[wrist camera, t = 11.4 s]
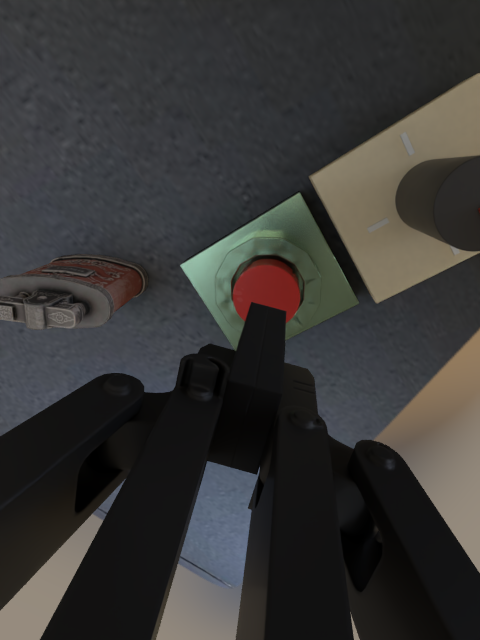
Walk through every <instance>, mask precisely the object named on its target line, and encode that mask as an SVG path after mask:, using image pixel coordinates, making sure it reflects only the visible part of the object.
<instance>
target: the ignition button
mask: <svg viewBox="0 0 480 640" xmlns="http://www.w3.org/2000/svg"><path fill="white" fill-rule="evenodd" d="M251 302H254V303H258V304H262V305H265V306H269V307H273V308H277V309H280V310H284V311H287V312H286V323H287V322H288V321H290V320H291V319H292V318H293V316H294V315H295V313H296V312H297V310H298V307H299V303H300V288H299V282H298V279H297V276H296V274H295V273H294V271H293V270H292V269H291V268H290V267H289V266H288V265H286V264H285V263H283V262H281V261H279V260H275V259H260V260H257V261H254V262H252V263H250V264H249V265H248V266H246V267H245V268H244V269H243V271H242V272H241V274H240V275H239V277H238V279H237V281H236V284H235V286H234V289H233V303H234V307H235V309H236V311H237V313H238V314H239V316H240V317H241V318H242V319H243V320H244V321H245V320H246V317H247V314H248V311H249V307H250V304H251Z"/></svg>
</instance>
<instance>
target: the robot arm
mask: <svg viewBox="0 0 480 640" xmlns="http://www.w3.org/2000/svg"><path fill="white" fill-rule="evenodd" d="M286 312H287V311H284V310H280V309H277V308H273V307H269V306H265V305H262V304H258V303H254V302H251V304H250V307H249V311H248V314H247V317H246V320H245V323H244V327H243V330H242V333H241V336H240V339H239V343H238V346H237V349H236V351H235V350H231V349H228V348H224V347H220V346H216V345H213V344H208V345H206V346H204V347H202V348H200V350H199V352H198V354H189V355H186V356H184V357H183V358H182V359H181V361H180V366H179V371H178V376H177V381H176V386H175V388H174V390H173V391H170V392H165V393H148V392H144V385H143V384H142V383H141V381H140V380H138V379H136V378H135V377H133V376H130V375H127V374H122V373H121V374H120V373H111V374H104V375H102V376H99V377H97V378H95V379H93V380H92V381H90V382H88V383H87V384H85V385H84V386H82V387H80V388H79V389H77V390H75V391H74V392H72V393H71V394H69V395H67V396H66V397H64V398H62V399H61V400H59V401H57V402H56V403H54V404H53V405H51V406H49V407H48V408H46V409H44V410H43V411H41V412H39V413H38V414H36V415H35V416H33V417H31V418H30V419H28V420H26V421H25V422H23V423H22V424H20V425H18V426H17V427H15V428H13V429H12V430H10V431H8V432H7V433H5V434H4V435H2V436H0V610H1V609H2V608H3V607H4V606H5V605H6V604H7V603H8V602H9V601H10V600H11V599H12V598H13V597H14V595H15V594H16V593H17V592H18V591H19V590H20V589H21V588H22V587H23V586H24V585H25V584H26V583H27V582H28V581H29V580H30V579H31V578H32V576H34V575H35V573H36V572H37V571H38V570H39V569H40V568H41V567H42V566H43V565H44V564H45V563H46V562H47V561H48V560H49V559H50V558H51V557H52V556H53V554H54V553H55V552H56V551H57V550H58V549H59V548H60V547H61V546H62V545H63V544H64V543H65V542H66V541H67V540H68V539H69V538H70V536H72V534H73V533H74V532H75V531H76V530H77V529H78V528H79V527H80V526H81V525H82V524H83V523H84V522H85V521H86V520H87V519H88V518H89V516H91V514H92V513H93V512H94V511H95V510H96V509H97V508H98V507H99V506H100V505H101V504H102V503H103V502H104V501H105V500H106V499H107V498H108V497H109V495H110V494H111V493H112V492H113V491H114V490H115V489H116V488H117V487H118V486H119V485H120V484H121V483H122V482H123V481H124V480H125V479H126V480H125V482H124V483H123V485H122V487H121V489H120V491H119V493H118V495H117V496H116V498H115V500H114V502H113V504H112V506H111V508H110V510H109V511H108V513H107V515H106V517H105V519H104V521H103V523H102V525H101V526H100V528H99V530H98V532H97V534H96V536H95V538H94V540H93V541H92V543H91V545H90V547H89V549H88V551H87V553H86V555H85V557H84V558H83V560H82V562H81V564H80V566H79V568H78V569H77V571H76V574H75V575H74V577H73V579H72V581H71V583H70V585H69V586H68V588H67V590H66V592H65V594H64V596H63V598H62V600H61V602H60V603H59V605H58V607H57V609H56V611H55V613H54V614H53V616H52V618H51V620H50V622H49V624H48V626H47V628H46V629H45V631H44V633H43V635H42V637H41V639H40V640H156V637H157V634H158V630H159V627H160V623H161V620H162V616H163V613H164V609H165V606H166V602H167V599H168V596H169V592H170V588H171V585H172V582H173V578H174V575H175V571H176V568H177V564H178V561H179V557H180V554H181V551H182V547H183V544H184V540H185V537H186V533H187V530H188V526H189V523H190V519H191V516H192V512H193V509H194V505H195V502H196V499H197V495H198V492H199V488H200V485H201V481H202V478H203V474H204V470H205V467H206V463H207V461H210V462H214V463H217V464H221V465H224V466H228V467H231V468H235V469H239V470H242V471H246V472H249V473H253V474H256V475H257V473H258V470H259V467H260V472H259V476H258V479H257V482H256V485H255V488H254V491H253V494H252V497H251V500H250V503H249V507H248V509H252V513H251V521H250V529H249V537H248V545H247V553H246V561H245V569H244V577H243V585H242V593H241V602H240V609H239V618H238V626H237V634H236V640H354V638H353V630H352V623H351V614H352V618H353V621H354V624H355V627H356V629H357V633H358V636H359V638H360V640H480V573H479V572H478V571H477V569H476V567H475V566H474V564H473V563H472V561H471V560H470V558H469V557H468V555H467V554H466V552H465V551H464V549H463V548H462V546H461V545H460V543H459V542H458V540H457V539H456V537H455V536H454V534H453V533H452V531H451V530H450V528H449V527H448V525H447V524H446V522H445V521H444V519H443V518H442V516H441V515H440V513H439V512H438V510H437V509H436V507H435V506H434V504H433V503H432V501H431V500H430V498H429V497H428V495H427V494H426V492H425V491H424V489H423V488H422V486H421V485H420V483H419V482H418V480H417V479H416V477H415V476H414V474H413V473H412V471H411V470H410V468H409V467H408V465H407V464H406V462H405V461H404V460H403V458H402V457H401V456H400V455H399V454H398V453H397V452H395V451H394V450H393V449H391V448H390V447H389V446H387V445H384V444H383V443H380V442H376V441H372V440H361V441H359V442H358V443H356V445H355V448H354V449H352V448H350V447H348V446H346V445H344V444H342V443H340V442H339V441H337V440H335V439H333V438H332V437H331V436H329V435H328V432H327V426H326V424H325V421H324V420H323V419H322V418H321V417H320V416H319V415H318V410H317V401H316V395H315V394H316V391H315V381H314V377H313V376H312V374H311V373H310V371H309V370H308V369H306V368H302V367H298V366H295V365H291V364H287V363H284V355H285V333H286ZM378 530H379V531H378ZM350 612H351V614H350Z"/></svg>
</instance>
